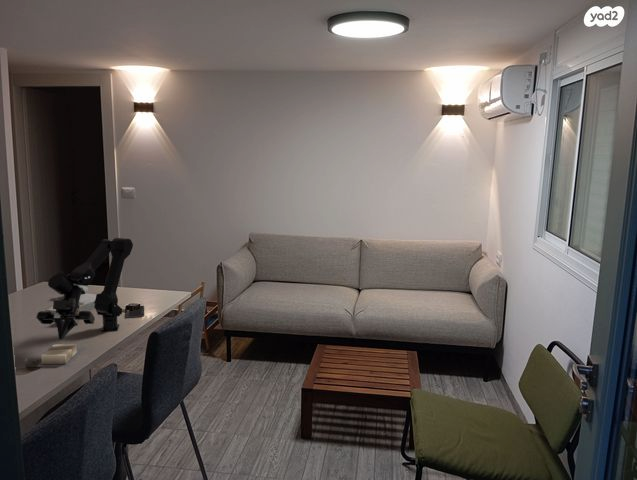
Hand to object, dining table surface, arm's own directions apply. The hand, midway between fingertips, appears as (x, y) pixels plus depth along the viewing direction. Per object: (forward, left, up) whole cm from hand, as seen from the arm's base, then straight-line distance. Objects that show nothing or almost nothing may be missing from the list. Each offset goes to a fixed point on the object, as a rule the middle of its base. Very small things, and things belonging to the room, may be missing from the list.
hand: (60, 339), depth 178 cm
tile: (-4, +1, -5) cm, 6 cm away
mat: (-1, 0, -7) cm, 7 cm away
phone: (-49, +20, -8) cm, 53 cm away
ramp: (-59, -5, -8) cm, 59 cm away
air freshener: (-79, -11, -8) cm, 80 cm away
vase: (-40, -5, -8) cm, 41 cm away
